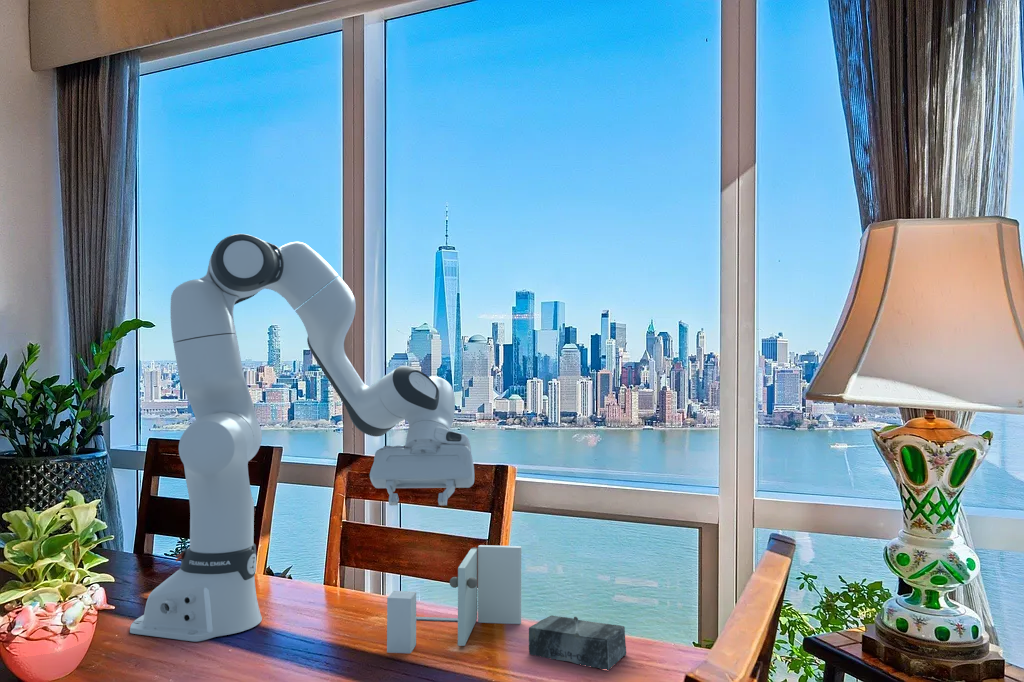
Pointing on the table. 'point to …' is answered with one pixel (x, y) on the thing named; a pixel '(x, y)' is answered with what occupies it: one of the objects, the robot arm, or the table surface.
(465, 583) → the door
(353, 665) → the table surface
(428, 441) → the robot arm
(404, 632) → the light grey block
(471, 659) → the table surface
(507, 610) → the wall
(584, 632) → the stone block
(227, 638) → the table surface
